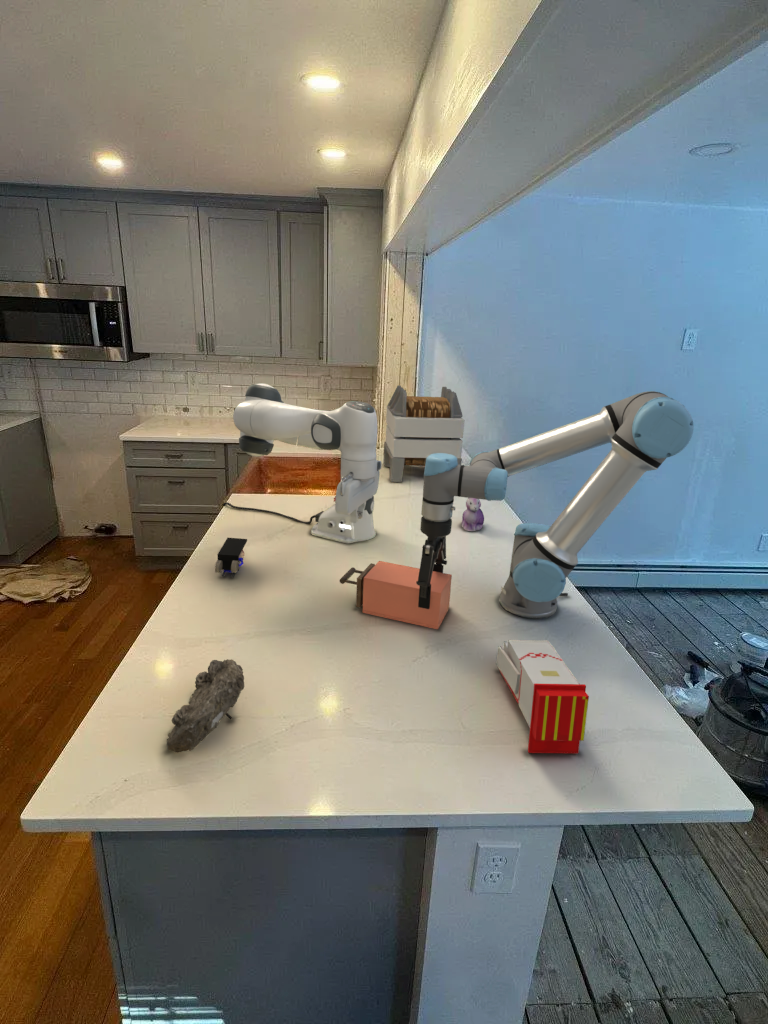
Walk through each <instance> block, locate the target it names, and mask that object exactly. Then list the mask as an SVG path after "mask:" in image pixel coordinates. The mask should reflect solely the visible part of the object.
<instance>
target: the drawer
mask: <svg viewBox="0 0 768 1024" xmlns="http://www.w3.org/2000/svg"><path fill="white" fill-rule="evenodd" d="M375 565H376V564H375V563H370V564H369V565H368V566H367V567H366V568H365V569H364V570H358V569H356V568H355V567H351V568H350V569H348V570H347V571H346V572H345V574H344V575H343V576H342V577H340V579H339V583H340V584H342V585H344V584H351V585H356V592H355V593H356V595H355V597H356V598H355V607H356V608H359V609H360V608H361V607H363V583H364V577H365V576H366V574H367V573H368V572H369V571H370V570H371V569H372V568H373V567H374V566H375ZM354 574H359V575H358V576H357V577H356V581H355V580H350V578H351V577H352V576H353V575H354Z"/></svg>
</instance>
